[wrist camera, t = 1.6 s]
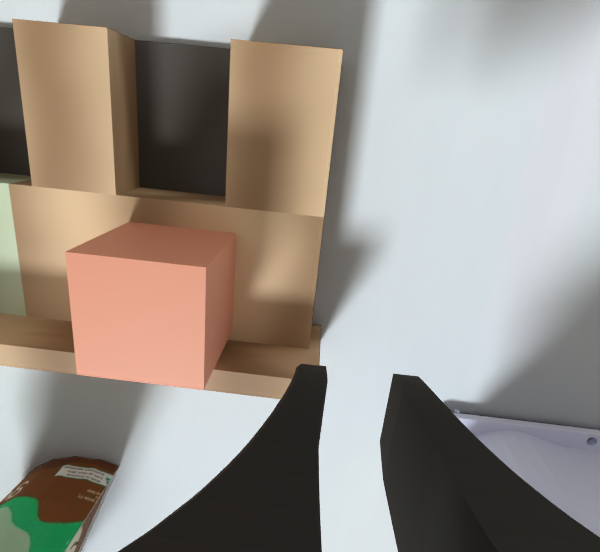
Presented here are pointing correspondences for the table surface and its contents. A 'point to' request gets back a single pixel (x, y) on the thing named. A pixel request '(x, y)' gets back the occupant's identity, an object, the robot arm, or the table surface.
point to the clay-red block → (152, 303)
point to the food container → (55, 505)
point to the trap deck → (165, 180)
